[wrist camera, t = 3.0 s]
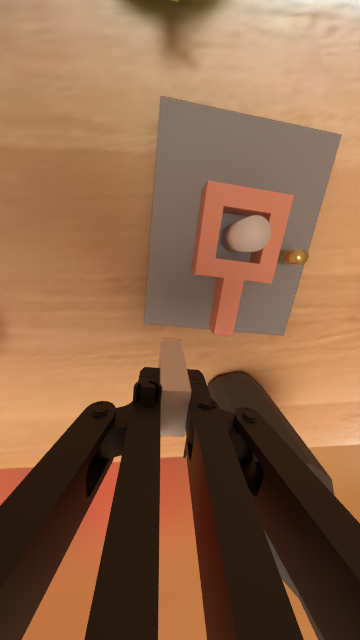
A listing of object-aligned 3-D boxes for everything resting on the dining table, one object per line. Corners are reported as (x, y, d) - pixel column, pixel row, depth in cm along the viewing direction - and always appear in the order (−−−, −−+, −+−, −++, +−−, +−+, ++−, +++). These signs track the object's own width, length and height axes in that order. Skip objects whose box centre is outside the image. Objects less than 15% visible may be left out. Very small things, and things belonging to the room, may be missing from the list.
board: (160, 105, 22) (160, 35, 15) (331, 141, 24) (401, 95, 17) (144, 320, 29) (139, 342, 22) (278, 332, 31) (312, 355, 24)
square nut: (202, 189, 23) (208, 180, 20) (278, 201, 24) (294, 195, 22) (184, 324, 28) (186, 332, 25) (248, 330, 29) (258, 338, 26)
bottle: (272, 393, 35) (760, 1016, 6) (230, 430, 37) (471, 1050, 8) (231, 358, 32) (771, 1178, 4) (188, 399, 34) (329, 1176, 5)
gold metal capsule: (277, 249, 26) (296, 248, 22) (288, 251, 26) (310, 250, 22) (273, 262, 27) (292, 264, 23) (285, 264, 27) (305, 265, 23)
